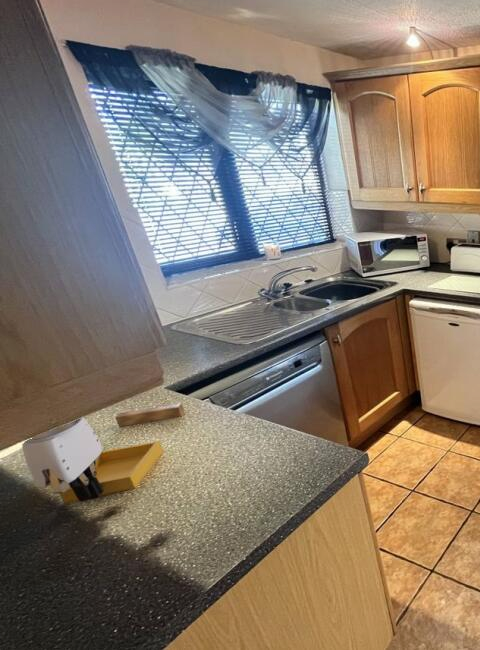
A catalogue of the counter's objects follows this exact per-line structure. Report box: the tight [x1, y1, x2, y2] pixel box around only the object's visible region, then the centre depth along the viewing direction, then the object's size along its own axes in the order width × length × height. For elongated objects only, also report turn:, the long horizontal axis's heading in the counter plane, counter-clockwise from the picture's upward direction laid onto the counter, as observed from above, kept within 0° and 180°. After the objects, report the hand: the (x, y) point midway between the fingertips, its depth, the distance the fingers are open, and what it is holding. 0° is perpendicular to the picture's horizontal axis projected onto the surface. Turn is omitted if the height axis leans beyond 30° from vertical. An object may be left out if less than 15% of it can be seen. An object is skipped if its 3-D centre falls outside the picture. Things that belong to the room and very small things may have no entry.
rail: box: [114, 403, 185, 427], centre depth 104 cm, size 14×2×3 cm, turn 108°
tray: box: [58, 440, 164, 504], centre depth 85 cm, size 12×12×3 cm
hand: (91, 496), depth 78 cm, fingers closed
